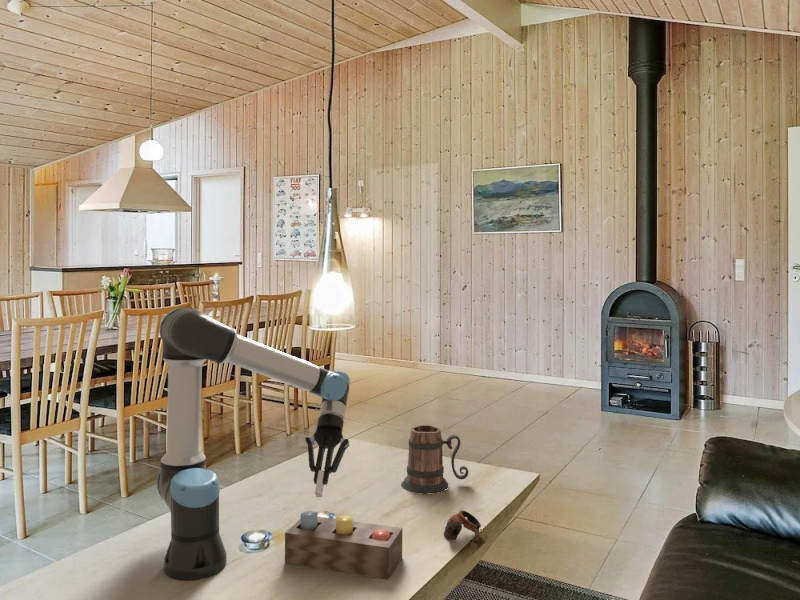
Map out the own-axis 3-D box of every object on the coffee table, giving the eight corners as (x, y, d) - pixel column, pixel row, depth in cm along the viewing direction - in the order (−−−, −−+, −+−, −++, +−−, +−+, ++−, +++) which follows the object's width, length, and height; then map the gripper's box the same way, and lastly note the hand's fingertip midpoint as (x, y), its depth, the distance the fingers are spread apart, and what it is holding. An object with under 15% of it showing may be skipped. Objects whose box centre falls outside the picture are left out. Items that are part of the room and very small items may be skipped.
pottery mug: (448, 529, 185) (463, 505, 184) (473, 551, 180) (489, 527, 179) (431, 533, 175) (447, 509, 174) (457, 557, 170) (473, 532, 169)
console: (284, 563, 162) (284, 532, 161) (304, 543, 173) (304, 514, 173) (388, 579, 154) (389, 547, 154) (402, 557, 166) (402, 527, 165)
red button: (369, 552, 159) (370, 535, 159) (375, 545, 164) (375, 528, 163) (386, 555, 158) (386, 537, 158) (391, 547, 162) (391, 530, 162)
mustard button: (333, 538, 162) (333, 521, 162) (339, 531, 166) (339, 514, 166) (349, 540, 161) (349, 523, 160) (355, 533, 165) (355, 516, 165)
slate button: (297, 533, 165) (297, 516, 164) (304, 526, 169) (304, 510, 169) (313, 535, 163) (313, 518, 163) (320, 528, 168) (320, 512, 167)
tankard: (401, 493, 211) (402, 435, 210) (400, 476, 228) (401, 422, 226) (471, 494, 211) (472, 435, 210) (465, 477, 228) (466, 422, 227)
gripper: (354, 426, 189) (343, 501, 173) (311, 424, 190) (297, 499, 174) (351, 413, 183) (340, 490, 167) (307, 411, 184) (292, 487, 169)
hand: (318, 494), depth 171 cm, fingers closed
